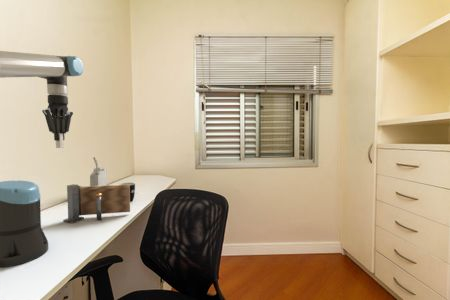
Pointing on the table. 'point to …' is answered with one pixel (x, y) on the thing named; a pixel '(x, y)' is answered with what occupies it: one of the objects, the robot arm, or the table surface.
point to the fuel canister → (98, 176)
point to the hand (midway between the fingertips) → (59, 147)
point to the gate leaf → (104, 199)
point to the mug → (132, 190)
